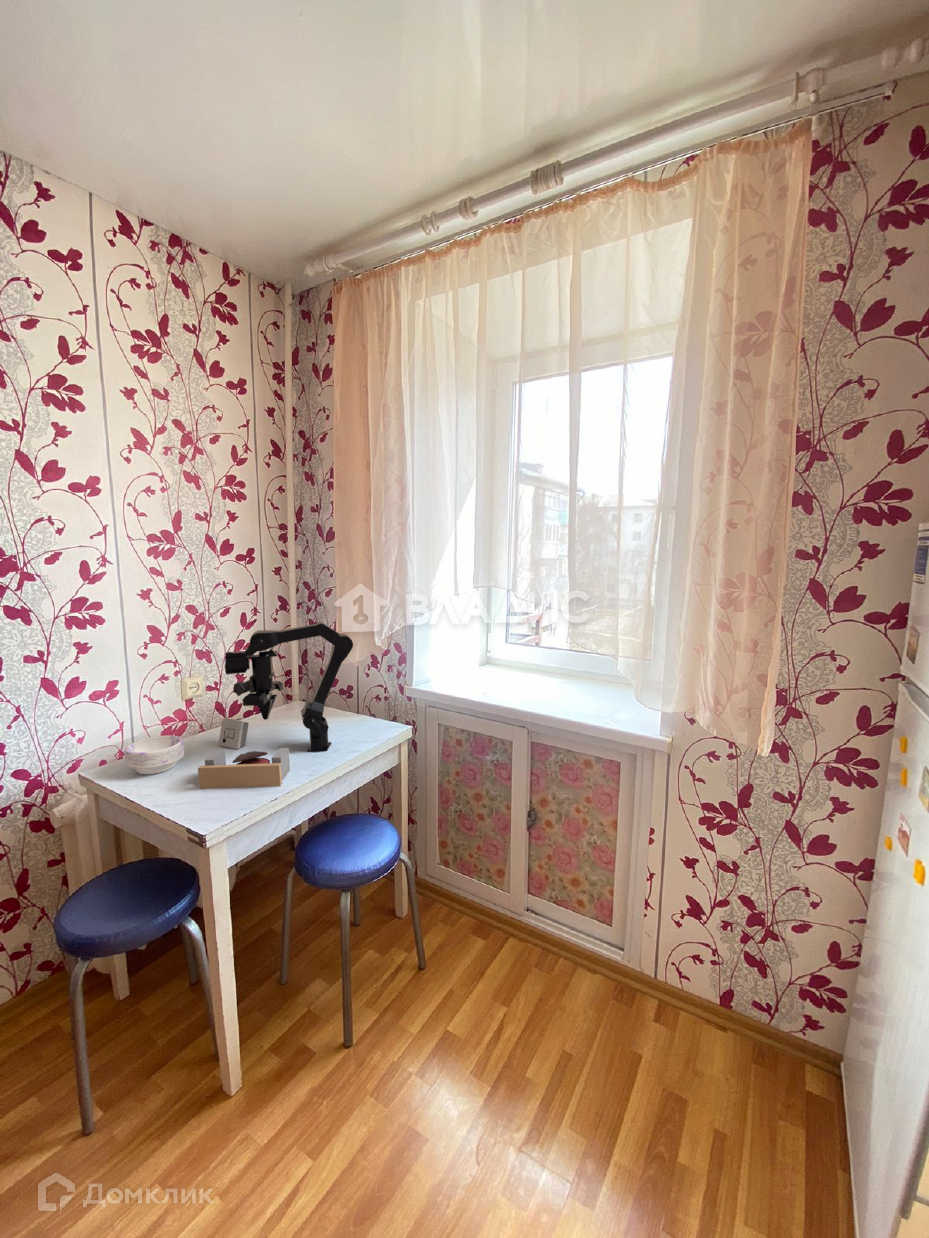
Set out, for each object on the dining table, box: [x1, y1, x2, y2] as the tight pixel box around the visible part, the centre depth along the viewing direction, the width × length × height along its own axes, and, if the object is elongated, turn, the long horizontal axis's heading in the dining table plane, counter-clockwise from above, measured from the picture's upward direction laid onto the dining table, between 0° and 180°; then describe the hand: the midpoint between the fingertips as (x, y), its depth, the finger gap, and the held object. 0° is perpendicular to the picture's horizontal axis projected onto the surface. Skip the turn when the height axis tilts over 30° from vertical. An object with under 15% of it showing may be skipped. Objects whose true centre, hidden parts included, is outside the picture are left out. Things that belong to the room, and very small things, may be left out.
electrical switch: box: [218, 717, 250, 750], centre depth 167 cm, size 9×5×9 cm, turn 65°
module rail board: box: [197, 747, 291, 790], centre depth 141 cm, size 10×22×7 cm, turn 92°
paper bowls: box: [124, 735, 185, 775], centre depth 149 cm, size 15×15×8 cm
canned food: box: [231, 750, 271, 765], centre depth 144 cm, size 11×10×10 cm
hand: (265, 719), depth 156 cm, fingers closed
